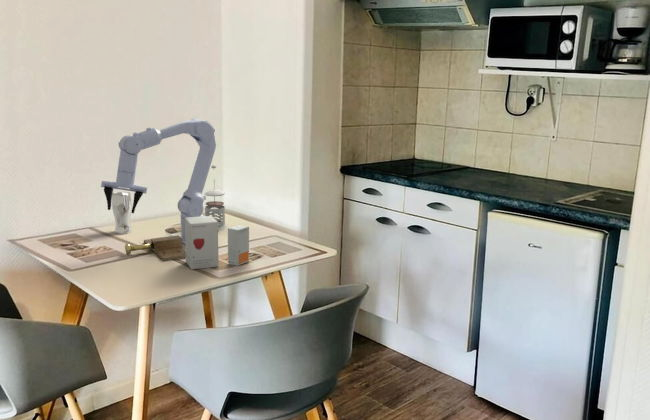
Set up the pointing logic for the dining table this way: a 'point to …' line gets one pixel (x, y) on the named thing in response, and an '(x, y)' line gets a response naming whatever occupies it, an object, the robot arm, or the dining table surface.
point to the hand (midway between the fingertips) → (120, 211)
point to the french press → (215, 204)
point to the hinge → (167, 247)
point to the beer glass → (122, 212)
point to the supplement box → (201, 242)
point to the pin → (137, 247)
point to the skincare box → (238, 245)
